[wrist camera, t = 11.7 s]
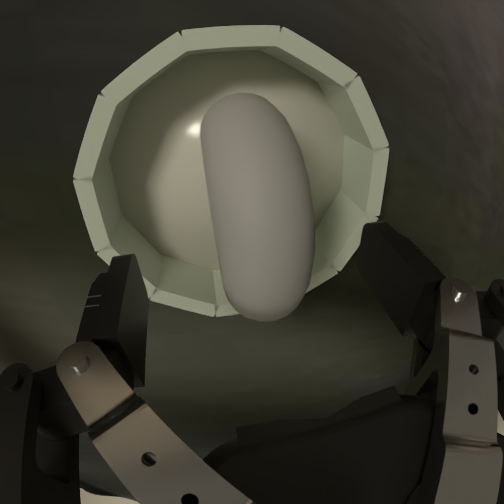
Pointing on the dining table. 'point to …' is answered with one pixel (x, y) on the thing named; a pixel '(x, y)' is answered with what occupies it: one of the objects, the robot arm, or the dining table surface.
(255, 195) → the donut
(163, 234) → the bowl
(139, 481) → the robot arm
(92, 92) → the dining table surface
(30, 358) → the dining table surface
